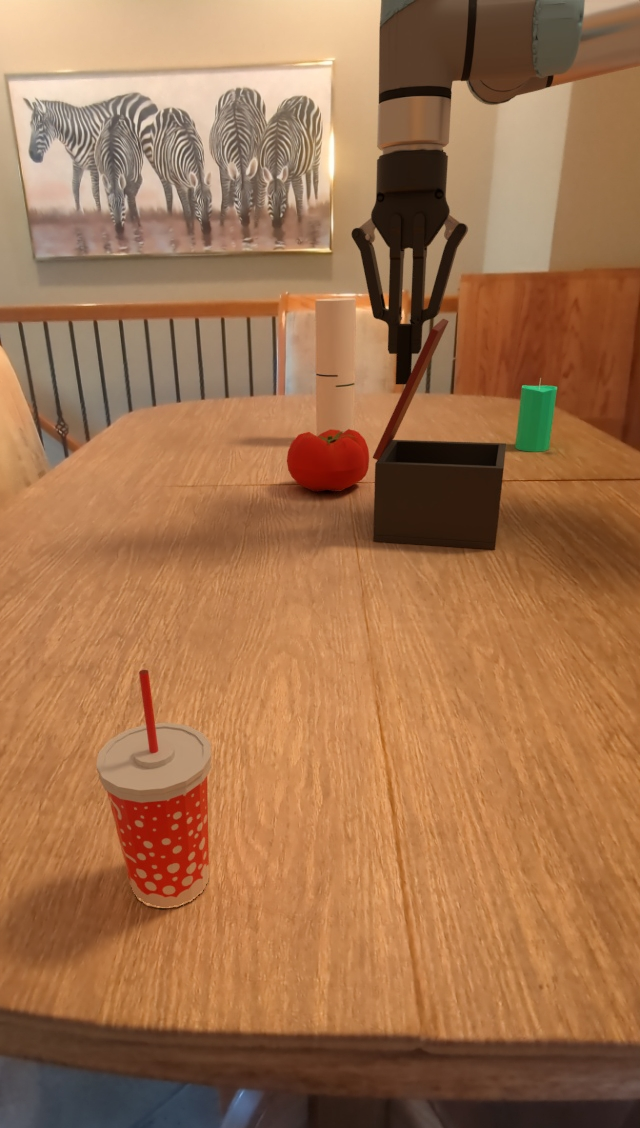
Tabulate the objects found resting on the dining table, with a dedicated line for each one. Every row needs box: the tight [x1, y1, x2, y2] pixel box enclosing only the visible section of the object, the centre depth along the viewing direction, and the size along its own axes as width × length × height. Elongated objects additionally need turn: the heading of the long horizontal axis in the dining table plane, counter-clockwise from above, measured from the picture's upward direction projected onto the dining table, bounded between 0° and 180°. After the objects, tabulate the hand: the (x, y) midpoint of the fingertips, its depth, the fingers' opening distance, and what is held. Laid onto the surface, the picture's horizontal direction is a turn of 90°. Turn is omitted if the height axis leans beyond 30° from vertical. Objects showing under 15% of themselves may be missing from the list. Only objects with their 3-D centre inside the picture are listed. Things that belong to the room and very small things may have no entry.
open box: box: [372, 439, 507, 551], centre depth 96 cm, size 15×13×10 cm
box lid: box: [372, 318, 449, 461], centre depth 91 cm, size 16×13×1 cm
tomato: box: [286, 429, 370, 493], centre depth 114 cm, size 13×12×8 cm
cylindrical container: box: [314, 297, 357, 436], centre depth 139 cm, size 7×7×25 cm
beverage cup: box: [95, 669, 212, 907], centre depth 41 cm, size 6×6×14 cm
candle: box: [514, 377, 558, 453], centre depth 133 cm, size 6×6×12 cm
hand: (403, 382), depth 91 cm, fingers closed
